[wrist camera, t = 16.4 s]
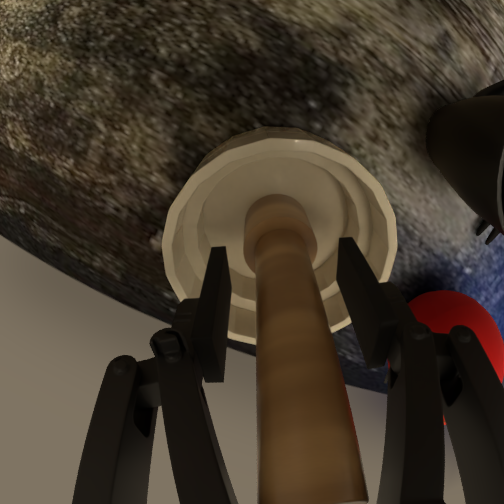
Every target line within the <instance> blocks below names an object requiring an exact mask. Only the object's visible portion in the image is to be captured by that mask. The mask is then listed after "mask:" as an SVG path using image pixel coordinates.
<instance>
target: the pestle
mask: <svg viewBox="0 0 504 504" xmlns="http://www.w3.org/2000/svg"><path fill="white" fill-rule="evenodd" d="M317 249H318V246H317V240H316V237H315V234H314V232H313V229H312V227H311V224H310V222H309V220H308V217H307V215H306V212H305V210H304V208H303V207H302V205H301V204H300V203H299V202H298V201H297V200H295V199H294V198H292V197H290V196H287V195H283V194H270V195H266V196H264V197H262V198H260V199H258V200H257V201H255V202H254V203H253V204H252V205H251V207H250V208H249V210H248V211H247V214H246V217H245V226H244V243H243V255H244V259H245V262H246V264H247V266H248V267H249V268H250V270H251V271H252V272H253V273H255V283H256V371H257V372H256V377H257V378H256V379H257V380H256V382H257V384H256V385H257V504H367V503H368V501H369V497H368V491H367V485H366V480H365V475H364V470H363V464H362V459H361V455H360V449H359V444H358V440H357V435H356V431H355V426H354V422H353V417H352V412H351V408H350V404H349V399H348V395H347V391H346V387H345V383H344V379H343V375H342V371H341V367H340V363H339V359H338V355H337V351H336V347H335V344H334V340H333V336H332V333H331V329H330V325H329V322H328V318H327V315H326V311H325V307H324V304H323V301H322V297H321V294H320V290H319V287H318V283H317V280H316V277H315V273H314V270H313V267H312V264H313V263H314V261H315V258H316V255H317Z"/></svg>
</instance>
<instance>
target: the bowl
mask: <svg viewBox="0 0 504 504" xmlns="http://www.w3.org/2000/svg"><path fill="white" fill-rule="evenodd" d="M270 194H283V195H287V196H290V197H292V198H294V199H295V200H297V201H298V202H299V203H300V204H301V205H302V207H303V208H304V210H305V212H306V215H307V217H308V220H309V222H310V224H311V227H312V229H313V232H314V234H315V237H316V240H317V246H318V249H317V255H316V258H315V261H314V263H313V264H312V267H313V270H314V273H315V277H316V280H317V283H318V287H319V290H320V294H321V297H322V301H323V304H324V307H325V311H326V315H327V318H328V322H329V325H330V329H331V333H333V332H335V331H337V330H339V329H341V328H343V327H345V326H347V325H348V324H350V323H351V319H350V316H349V313H348V310H347V308H346V305H345V302H344V300H343V297H342V294H341V292H340V289H339V286H338V284H337V281H336V273H337V259H338V243H339V238H341V237H353V239H354V240H355V242H356V244H357V245H358V247H359V249H360V250H361V252H362V254H363V255H364V257H365V259H366V260H367V262H368V264H369V266H370V267H371V269H372V271H373V272H374V274H375V276H376V278H377V280H378V281H379V283H381V282H387V281H388V278H389V276H390V273H391V270H392V266H393V263H394V259H395V255H396V252H397V232H396V218H395V214H394V211H393V209H392V207H391V205H390V202H389V200H388V198H387V196H386V194H385V191H384V189H383V187H382V185H381V184H380V182H379V181H378V180H377V179H376V178H375V177H374V176H373V175H372V174H371V173H370V172H369V171H368V170H367V169H365V168H364V167H363V166H362V165H361V164H360V163H359V162H358V161H357V160H356V159H355V158H354V157H352V156H351V155H349V154H348V153H346V152H345V151H343V150H342V149H340V148H339V147H337V146H336V145H334V144H333V143H331V142H330V141H328V140H327V139H324V138H322V137H319V136H317V135H315V134H312V133H310V132H307V131H305V130H302V129H299V128H291V127H269V126H265V127H261V128H257V129H254V130H250V131H247V132H244V133H240V134H237V135H234V136H232V137H230V138H229V139H228V140H226V141H225V142H223V143H222V144H221V145H219V146H218V147H216V148H215V149H214V150H212V151H211V152H210V153H208V154H207V155H206V156H205V158H204V159H203V160H202V162H201V163H200V164H199V166H198V167H197V168H196V170H195V171H194V172H193V174H192V175H191V177H190V178H189V179H188V181H187V182H186V184H185V185H184V187H183V188H182V190H181V191H180V193H179V194H178V196H177V197H176V199H175V200H174V202H173V204H172V205H171V207H170V209H169V211H168V215H167V220H166V224H165V229H164V233H163V238H162V244H161V245H162V252H163V259H164V265H165V271H166V276H167V278H168V280H169V282H170V284H171V286H172V288H173V289H174V291H175V293H176V295H177V297H178V299H179V300H180V302H182V300H183V299H186V298H199V297H200V293H201V289H202V284H203V280H204V276H205V272H206V267H207V263H208V259H209V255H210V251H211V247H218V246H226V251H227V258H228V265H229V271H230V278H231V284H232V293H231V304H230V315H229V326H228V338H231V339H233V340H238V341H242V342H246V343H250V344H255V345H256V283H255V273H253V272H252V271H251V270H250V268H249V267H248V266H247V264H246V262H245V259H244V255H243V243H244V226H245V217H246V214H247V211H248V210H249V208H250V207H251V205H252V204H253V203H254V202H255V201H257V200H258V199H260V198H262V197H264V196H266V195H270Z"/></svg>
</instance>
